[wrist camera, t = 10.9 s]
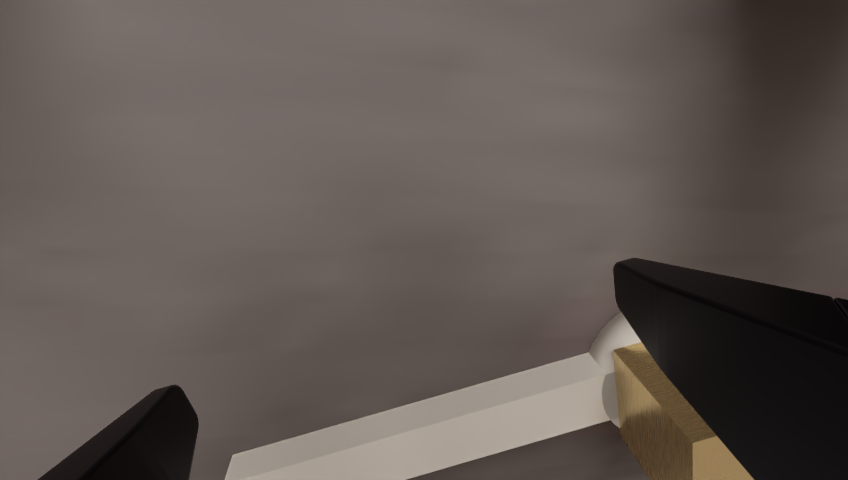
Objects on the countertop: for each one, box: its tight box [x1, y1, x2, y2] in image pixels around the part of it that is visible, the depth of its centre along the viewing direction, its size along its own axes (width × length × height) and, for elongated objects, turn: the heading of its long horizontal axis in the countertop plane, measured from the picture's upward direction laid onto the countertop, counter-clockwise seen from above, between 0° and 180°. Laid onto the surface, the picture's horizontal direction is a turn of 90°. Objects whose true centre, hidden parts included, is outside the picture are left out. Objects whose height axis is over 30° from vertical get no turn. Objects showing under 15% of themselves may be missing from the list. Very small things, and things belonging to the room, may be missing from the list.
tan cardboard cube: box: [613, 342, 754, 480], centre depth 21 cm, size 6×6×6 cm
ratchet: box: [225, 312, 641, 480], centre depth 23 cm, size 28×8×6 cm, turn 104°
